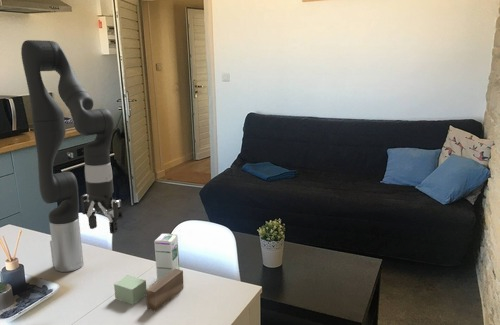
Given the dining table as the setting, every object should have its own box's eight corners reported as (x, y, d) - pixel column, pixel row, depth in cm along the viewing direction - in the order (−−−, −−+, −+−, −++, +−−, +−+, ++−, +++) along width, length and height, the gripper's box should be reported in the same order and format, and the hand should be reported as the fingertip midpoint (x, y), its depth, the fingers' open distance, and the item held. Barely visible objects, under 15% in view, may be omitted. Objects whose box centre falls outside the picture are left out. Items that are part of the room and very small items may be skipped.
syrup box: (173, 283, 137) (171, 241, 133) (156, 281, 138) (154, 239, 134) (180, 274, 142) (178, 234, 139) (163, 273, 143) (161, 232, 140)
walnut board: (147, 308, 123) (146, 289, 122) (175, 285, 135) (174, 268, 134) (155, 311, 122) (154, 292, 120) (183, 287, 134) (182, 270, 133)
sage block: (115, 299, 128) (114, 284, 127) (129, 289, 133) (128, 275, 132) (133, 304, 125) (132, 289, 124) (146, 295, 130) (145, 280, 129)
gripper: (70, 178, 124) (76, 230, 128) (108, 184, 118) (112, 239, 122) (90, 172, 131) (94, 222, 135) (127, 177, 125) (130, 230, 129)
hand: (103, 230), depth 128 cm, fingers open, 7 cm apart
